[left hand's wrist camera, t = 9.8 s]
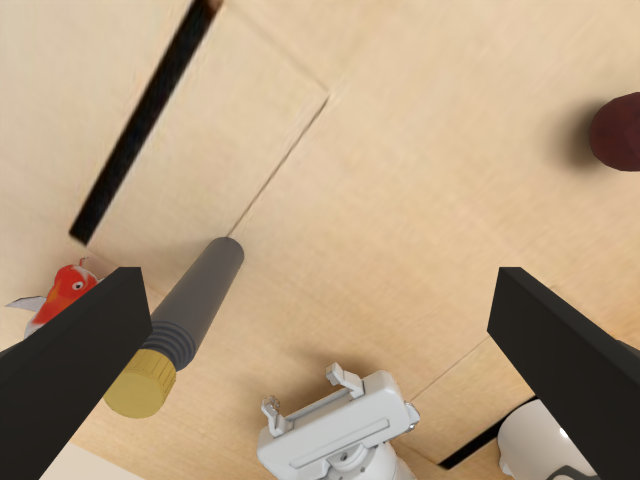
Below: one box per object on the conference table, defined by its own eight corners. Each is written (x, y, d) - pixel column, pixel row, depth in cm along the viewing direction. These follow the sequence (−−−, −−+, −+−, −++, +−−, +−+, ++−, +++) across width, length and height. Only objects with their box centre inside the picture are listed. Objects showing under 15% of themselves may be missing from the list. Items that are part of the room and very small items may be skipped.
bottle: (240, 274, 43) (166, 424, 23) (204, 265, 43) (96, 410, 22) (247, 242, 42) (176, 371, 21) (210, 232, 41) (101, 354, 21)
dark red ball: (598, 178, 39) (655, 192, 32) (557, 132, 37) (608, 137, 31) (657, 126, 37) (730, 130, 30) (617, 75, 35) (685, 67, 29)
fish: (156, 308, 40) (60, 363, 32) (124, 346, 50) (45, 395, 42) (102, 234, 40) (-5, 270, 32) (81, 287, 50) (-5, 324, 42)
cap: (173, 398, 24) (159, 424, 22) (118, 386, 24) (99, 412, 22) (180, 355, 23) (167, 379, 21) (123, 342, 23) (103, 365, 20)
